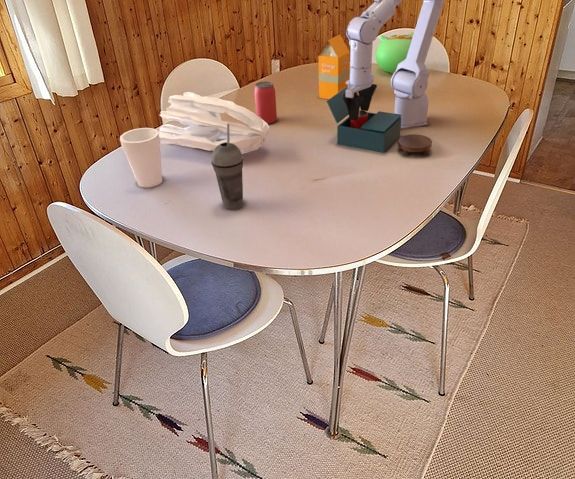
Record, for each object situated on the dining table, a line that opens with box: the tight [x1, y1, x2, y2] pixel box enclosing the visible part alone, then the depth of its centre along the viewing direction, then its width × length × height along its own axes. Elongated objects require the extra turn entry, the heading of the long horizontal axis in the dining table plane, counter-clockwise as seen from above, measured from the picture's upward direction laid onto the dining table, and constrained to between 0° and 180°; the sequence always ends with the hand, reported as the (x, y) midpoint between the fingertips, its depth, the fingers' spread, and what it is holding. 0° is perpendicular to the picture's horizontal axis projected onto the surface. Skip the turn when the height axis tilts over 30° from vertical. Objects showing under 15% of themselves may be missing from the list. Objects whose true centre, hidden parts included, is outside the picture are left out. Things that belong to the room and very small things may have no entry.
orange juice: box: [318, 33, 351, 100], centre depth 171 cm, size 8×9×20 cm
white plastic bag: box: [158, 91, 270, 155], centre depth 140 cm, size 17×18×35 cm
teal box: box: [336, 110, 402, 154], centre depth 141 cm, size 14×13×7 cm
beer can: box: [253, 80, 278, 125], centre depth 157 cm, size 7×7×12 cm
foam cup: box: [119, 127, 163, 189], centre depth 126 cm, size 10×9×13 cm
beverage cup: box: [210, 124, 244, 211], centre depth 112 cm, size 7×7×20 cm
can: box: [350, 109, 368, 130], centre depth 142 cm, size 5×5×8 cm
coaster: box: [397, 133, 433, 156], centre depth 135 cm, size 9×9×4 cm
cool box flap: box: [326, 87, 349, 124], centre depth 142 cm, size 7×13×1 cm
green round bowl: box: [375, 32, 414, 74], centre depth 191 cm, size 18×17×15 cm
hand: (359, 114), depth 140 cm, fingers open, 7 cm apart
